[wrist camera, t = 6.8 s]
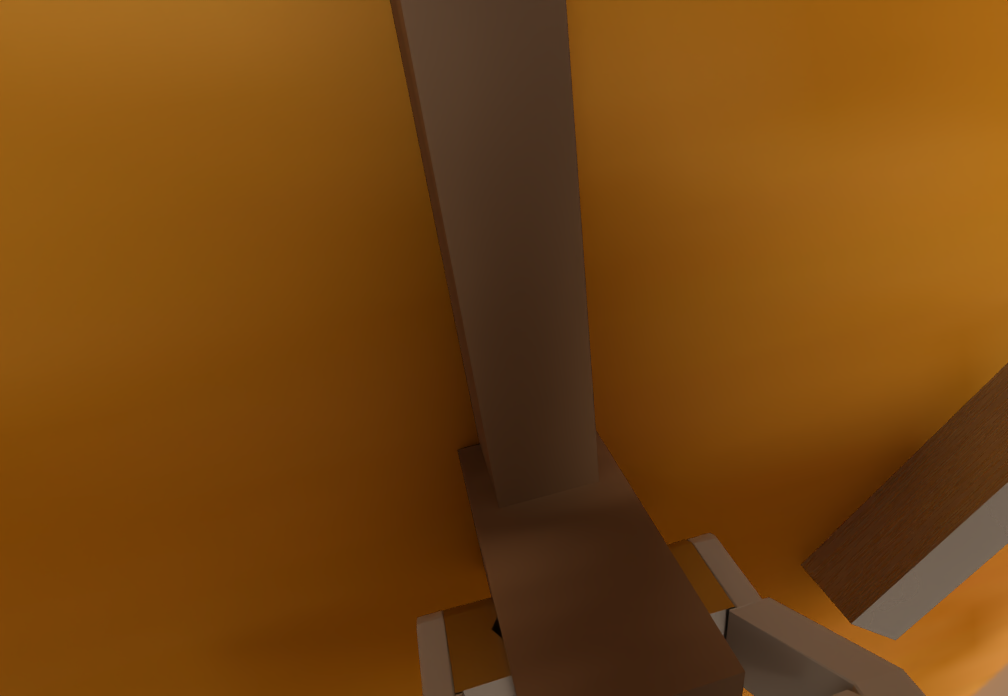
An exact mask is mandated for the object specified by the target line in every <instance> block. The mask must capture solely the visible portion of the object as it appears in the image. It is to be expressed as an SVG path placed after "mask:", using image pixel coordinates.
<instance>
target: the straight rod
mask: <svg viewBox="0 0 1008 696" xmlns="http://www.w3.org/2000/svg"><path fill="white" fill-rule="evenodd" d="M1007 543H1008V363H1007V364H1006V365H1005V366H1004V367H1003V368H1002V369H1001V370H1000V371H999V372H998V373H997V374H996V375H995V376H994V377H993V378H992V379H991V380H990V381H989V382H988V383H987V384H986V385H984V386H983V387H982V388H981V389H980V390H979V391H978V392H977V393H976V394H975V395H974V396H973V397H972V398H971V399H970V400H969V401H968V402H967V403H966V404H965V405H964V406H963V407H962V408H961V409H960V410H959V411H958V412H957V413H956V414H955V415H954V416H953V417H952V418H951V419H950V420H949V421H948V422H947V423H946V424H945V425H944V426H943V427H942V428H940V429H939V430H938V431H937V432H936V433H935V434H934V435H933V436H932V437H931V438H930V439H929V440H928V441H927V442H926V443H925V444H924V445H923V446H922V447H921V448H920V449H919V450H918V451H917V452H916V453H915V454H914V455H913V456H912V457H911V458H910V459H909V460H908V461H907V462H906V463H905V464H904V465H903V466H902V467H901V468H900V469H899V470H898V471H896V472H895V473H894V474H893V475H892V476H891V477H890V478H889V479H888V480H887V481H886V482H885V483H884V484H883V485H882V486H881V487H880V488H879V489H878V490H877V491H876V492H875V493H874V494H873V495H872V496H871V497H870V498H869V499H868V500H867V501H866V502H865V503H864V504H863V505H862V506H861V507H860V508H859V509H858V510H857V511H856V512H855V513H853V514H852V515H851V516H850V517H849V518H848V519H847V520H846V521H845V522H844V523H843V524H842V525H841V526H840V527H839V528H838V529H837V530H836V531H835V532H834V533H833V534H832V535H831V536H830V537H829V538H828V539H827V540H826V541H825V542H824V543H823V544H822V545H821V546H820V547H819V548H818V549H817V550H816V551H815V552H814V553H813V554H812V555H811V556H809V557H808V558H807V559H806V560H805V561H804V562H803V563H802V564H801V566H802V567H803V568H804V569H805V570H806V571H807V573H808V574H809V575H810V576H811V577H812V578H813V580H814V581H815V582H816V583H817V584H818V585H819V587H820V588H821V589H822V590H823V591H824V592H825V594H826V595H827V596H828V597H829V598H830V600H831V601H832V602H833V603H834V604H835V605H836V607H837V608H838V609H839V610H840V611H841V612H842V614H843V615H844V616H845V617H846V618H847V619H848V621H849V622H850V623H851V624H853V625H856V626H859V627H861V628H864V629H867V630H869V631H872V632H875V633H877V634H880V635H883V636H886V637H888V638H891V639H894V640H896V639H898V638H899V637H900V636H901V635H902V634H903V633H905V632H906V631H907V630H908V629H909V628H910V627H911V626H913V625H914V624H915V623H916V622H917V621H918V620H920V619H921V618H922V617H923V616H924V615H925V614H926V613H928V612H929V611H930V610H931V609H932V608H933V607H935V606H936V605H937V604H938V603H939V602H940V601H942V600H943V599H944V598H945V597H946V596H947V595H948V594H950V593H951V592H952V591H953V590H954V589H955V588H957V587H958V586H959V585H960V584H961V583H962V582H963V581H965V580H966V579H967V578H968V577H969V576H970V575H972V574H973V573H974V572H975V571H976V570H977V569H979V568H980V567H981V566H982V565H983V564H984V563H985V562H987V561H988V560H989V559H990V558H991V557H992V556H994V555H995V554H996V553H997V552H998V551H999V550H1000V549H1002V548H1003V547H1004V546H1005V545H1006V544H1007Z"/></svg>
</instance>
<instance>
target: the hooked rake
mask: <svg viewBox="0 0 1008 696" xmlns="http://www.w3.org/2000/svg"><path fill="white" fill-rule="evenodd" d="M390 3H391V8H392V13H393V18H394V23H395V28H396V33H397V37H398V42H399V47H400V52H401V57H402V62H403V67H404V72H405V77H406V82H407V87H408V92H409V97H410V102H411V107H412V112H413V117H414V121H415V126H416V131H417V136H418V141H419V146H420V151H421V156H422V161H423V166H424V171H425V176H426V181H427V186H428V191H429V196H430V201H431V206H432V210H433V215H434V220H435V225H436V230H437V235H438V240H439V245H440V250H441V255H442V260H443V265H444V270H445V275H446V280H447V285H448V290H449V294H450V299H451V304H452V309H453V314H454V319H455V324H456V329H457V334H458V339H459V344H460V349H461V354H462V359H463V364H464V369H465V374H466V379H467V383H468V388H469V393H470V398H471V403H472V408H473V413H474V418H475V423H476V428H477V433H478V438H479V443H480V444H478V445H475V446H471V447H467V448H463V449H459V450H458V454H459V458H460V463H461V467H462V471H463V476H464V480H465V485H466V489H467V493H468V498H469V502H470V506H471V511H472V515H473V519H474V524H475V528H476V533H477V537H478V541H479V546H480V550H481V554H482V559H483V563H484V568H485V572H486V576H487V580H488V584H489V589H490V593H491V597H493V601H494V605H495V609H496V613H497V618H498V622H499V626H500V631H501V635H502V639H503V642H504V647H505V651H506V655H507V659H508V663H509V667H510V671H511V676H512V680H513V684H514V689H515V693H516V696H742V692H743V685H744V678H745V670H744V669H743V667H742V665H741V664H740V662H739V661H738V659H737V657H736V656H735V654H734V653H733V651H732V649H731V648H730V646H729V644H728V643H727V641H726V640H725V638H724V636H723V635H722V633H721V632H720V630H719V628H718V627H717V625H716V623H715V622H714V620H713V619H712V617H711V615H710V614H709V612H708V611H707V609H706V607H705V606H704V604H703V602H702V601H701V599H700V598H699V596H698V594H697V593H696V591H695V589H694V588H693V586H692V585H691V583H690V581H689V580H688V578H687V577H686V575H685V573H684V572H683V570H682V568H681V567H680V565H679V564H678V562H677V560H676V559H675V557H674V556H673V554H672V552H671V551H670V549H669V547H668V546H667V544H666V543H665V541H664V539H663V538H662V536H661V535H660V533H659V531H658V530H657V528H656V526H655V525H654V523H653V522H652V520H651V518H650V517H649V515H648V514H647V512H646V510H645V509H644V507H643V505H642V504H641V502H640V501H639V499H638V497H637V496H636V494H635V493H634V491H633V489H632V488H631V486H630V484H629V483H628V481H627V480H626V478H625V476H624V475H623V473H622V471H621V470H620V468H619V467H618V465H617V463H616V462H615V460H614V459H613V457H612V455H611V454H610V452H609V450H608V449H607V447H606V446H605V444H604V442H603V441H602V439H601V438H600V436H599V434H598V433H597V431H596V427H595V413H594V398H593V384H592V369H591V355H590V341H589V326H588V312H587V297H586V283H585V268H584V254H583V240H582V225H581V211H580V196H579V182H578V168H577V153H576V139H575V124H574V110H573V95H572V81H571V67H570V52H569V38H568V23H567V9H566V0H390Z"/></svg>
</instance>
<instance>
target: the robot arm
mask: <svg viewBox="0 0 1008 696" xmlns="http://www.w3.org/2000/svg"><path fill="white" fill-rule="evenodd" d="M667 546H668V547H669V549H670V551H671V552H672V554H673V556H674V557H675V559H676V560H677V562H678V564H679V565H680V567H681V568H682V570H683V572H684V573H685V575H686V577H687V578H688V580H689V581H690V583H691V585H692V586H693V588H694V589H695V591H696V593H697V594H698V596H699V598H700V599H701V601H702V602H703V604H704V606H705V607H706V609H707V611H708V612H709V614H710V615H711V617H712V619H713V620H714V622H715V623H716V625H717V627H718V628H719V630H720V632H721V633H722V635H723V636H724V638H725V640H726V641H727V643H728V644H729V646H730V648H731V649H732V651H733V653H734V654H735V656H736V657H737V659H738V661H739V662H740V664H741V665H742V667H743V669H744V670H745V678H744V685H743V687H744V688H745V689H746V690H748V691H749V692H750V693H752V694H753V695H754V696H926V695H925V694H924V693H923V692H922V691H921V690H920V689H919V687H918V686H917V685H916V684H915V683H914V682H913V681H912V679H911V678H910V677H909V676H908V675H907V674H906V673H905V671H904V670H903V669H901V668H899V667H897V666H896V665H894V664H892V663H890V662H888V661H886V660H885V659H883V658H881V657H879V656H877V655H875V654H873V653H872V652H870V651H868V650H866V649H864V648H862V647H860V646H859V645H857V644H855V643H853V642H851V641H849V640H847V639H846V638H844V637H842V636H840V635H838V634H836V633H834V632H833V631H831V630H829V629H827V628H825V627H823V626H822V625H820V624H818V623H816V622H814V621H812V620H810V619H809V618H807V617H805V616H803V615H801V614H799V613H797V612H796V611H794V610H792V609H790V608H788V607H786V606H784V605H783V604H781V603H779V602H777V601H775V600H773V599H771V598H770V597H769V598H765V599H762V598H761V597H760V595H759V594H758V593H757V591H756V590H755V589H754V587H753V586H752V585H751V583H750V582H749V581H748V579H747V578H746V577H745V575H744V574H743V572H742V571H741V570H740V568H739V567H738V566H737V564H736V563H735V562H734V560H733V559H732V558H731V556H730V555H729V554H728V552H727V551H726V549H725V548H724V547H723V545H722V544H721V543H720V541H719V540H718V539H717V537H716V536H715V535H713V534H712V533H706V534H703V535H700V536H697V537H694V538H690V539H687V540H685V539H684V540H681V541H678V542H674V543H671V544H668V545H667ZM416 628H417V638H418V649H419V659H420V670H421V680H422V691H423V696H516V693H515V689H514V684H513V680H512V676H511V671H510V667H509V663H508V659H507V655H506V651H505V647H504V642H503V639H502V635H501V631H500V626H499V622H498V618H497V613H496V609H495V605H494V601H493V597H491V598H487V599H483V600H479V601H476V602H472V603H468V604H465V605H461V606H457V607H453V608H450V609H446V610H442V611H438V612H435V613H431V614H428V615H424V616H421V617H417V626H416Z"/></svg>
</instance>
